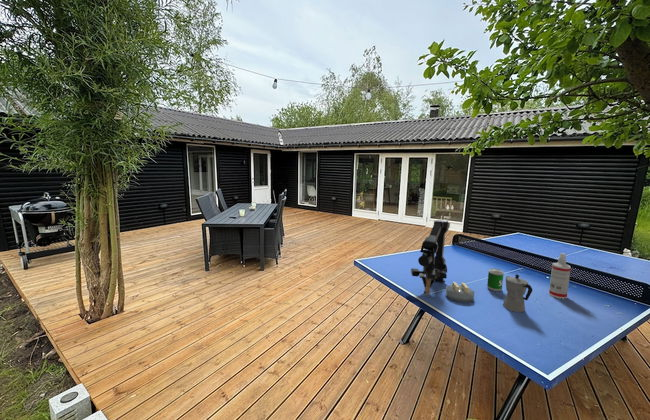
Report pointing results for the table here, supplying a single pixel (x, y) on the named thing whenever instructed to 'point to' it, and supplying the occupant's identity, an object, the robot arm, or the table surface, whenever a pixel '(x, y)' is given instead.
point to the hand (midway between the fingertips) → (427, 287)
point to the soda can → (495, 279)
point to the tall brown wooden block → (427, 285)
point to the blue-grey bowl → (460, 292)
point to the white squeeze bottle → (560, 278)
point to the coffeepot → (516, 293)
